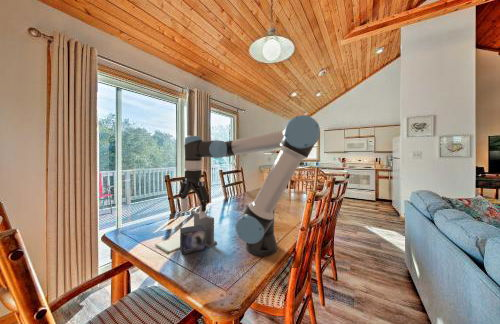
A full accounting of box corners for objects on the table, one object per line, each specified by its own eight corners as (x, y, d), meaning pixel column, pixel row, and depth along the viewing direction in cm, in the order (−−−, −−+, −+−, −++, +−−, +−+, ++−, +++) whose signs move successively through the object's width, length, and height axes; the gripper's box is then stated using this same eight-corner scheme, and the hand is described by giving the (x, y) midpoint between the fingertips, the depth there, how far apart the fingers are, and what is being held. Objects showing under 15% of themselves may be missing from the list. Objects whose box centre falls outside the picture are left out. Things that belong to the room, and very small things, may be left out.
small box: (182, 255, 87) (181, 233, 87) (179, 249, 93) (179, 227, 93) (205, 250, 93) (205, 228, 92) (201, 244, 98) (201, 224, 98)
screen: (217, 243, 99) (217, 216, 98) (208, 248, 95) (208, 219, 94) (199, 235, 108) (199, 210, 107) (190, 239, 103) (190, 213, 102)
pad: (197, 240, 102) (197, 238, 102) (167, 253, 89) (167, 251, 89) (184, 234, 109) (184, 233, 109) (155, 245, 96) (155, 243, 96)
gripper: (217, 171, 86) (217, 218, 87) (184, 167, 101) (184, 207, 102) (204, 172, 80) (203, 223, 81) (170, 168, 95) (171, 211, 96)
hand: (193, 214), depth 92 cm, fingers open, 13 cm apart
